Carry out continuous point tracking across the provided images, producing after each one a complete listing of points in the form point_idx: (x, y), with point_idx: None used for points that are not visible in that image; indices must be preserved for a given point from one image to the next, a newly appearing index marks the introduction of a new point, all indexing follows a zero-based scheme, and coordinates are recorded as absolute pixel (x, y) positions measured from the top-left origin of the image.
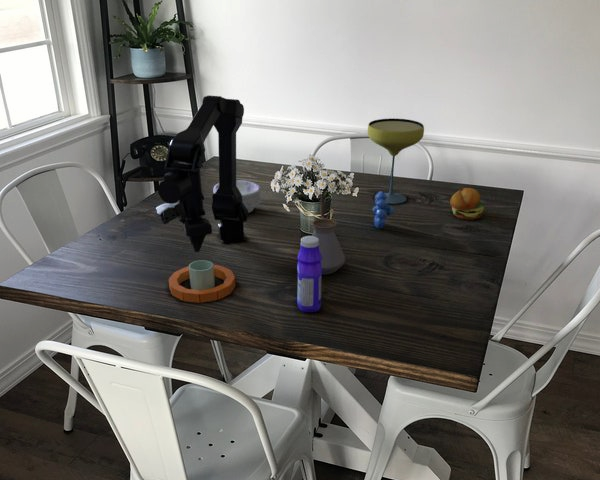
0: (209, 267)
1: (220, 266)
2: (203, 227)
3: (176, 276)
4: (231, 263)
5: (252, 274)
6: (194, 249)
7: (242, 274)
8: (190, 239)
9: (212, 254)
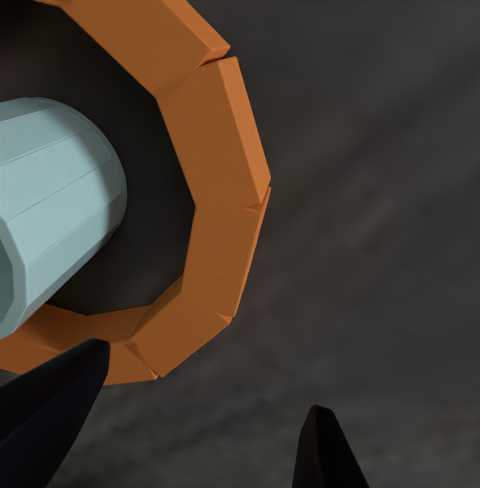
0: (9, 304)
1: (140, 373)
2: None
3: (108, 25)
4: (267, 434)
5: (101, 432)
6: (61, 355)
7: (119, 405)
8: (313, 462)
9: (455, 429)
